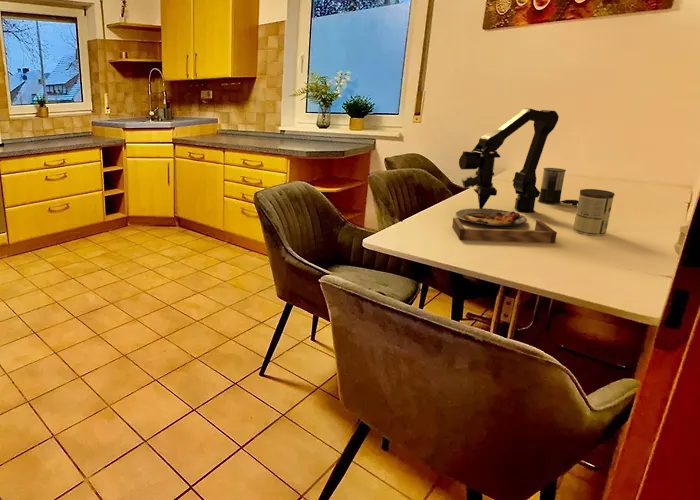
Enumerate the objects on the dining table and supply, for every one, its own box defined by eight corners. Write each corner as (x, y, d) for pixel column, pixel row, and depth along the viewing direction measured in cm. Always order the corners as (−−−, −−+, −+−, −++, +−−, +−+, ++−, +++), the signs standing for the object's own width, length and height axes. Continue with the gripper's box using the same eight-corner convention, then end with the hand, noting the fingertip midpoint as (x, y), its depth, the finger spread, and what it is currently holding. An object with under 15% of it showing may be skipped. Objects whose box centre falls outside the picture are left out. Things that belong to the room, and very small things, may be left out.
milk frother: (535, 199, 203) (540, 166, 198) (572, 201, 201) (578, 168, 196) (543, 206, 190) (549, 171, 185) (582, 208, 187) (589, 173, 183)
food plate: (535, 220, 166) (536, 211, 165) (511, 234, 149) (512, 224, 148) (472, 211, 181) (473, 202, 180) (444, 222, 164) (445, 213, 163)
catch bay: (539, 230, 155) (540, 220, 154) (555, 243, 141) (556, 232, 140) (452, 227, 156) (453, 217, 155) (459, 239, 142) (460, 229, 141)
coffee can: (571, 226, 160) (578, 187, 156) (602, 229, 157) (611, 190, 152) (574, 234, 151) (582, 193, 146) (608, 237, 148) (617, 196, 143)
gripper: (460, 164, 181) (456, 202, 186) (469, 172, 163) (464, 213, 169) (488, 165, 180) (483, 203, 186) (499, 173, 163) (494, 214, 168)
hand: (480, 208), depth 177 cm, fingers closed
